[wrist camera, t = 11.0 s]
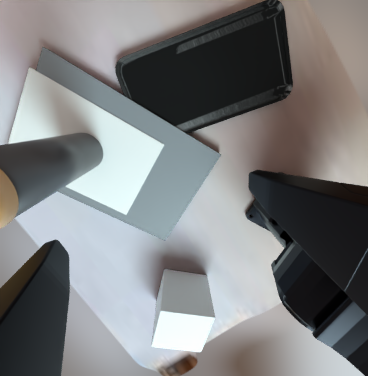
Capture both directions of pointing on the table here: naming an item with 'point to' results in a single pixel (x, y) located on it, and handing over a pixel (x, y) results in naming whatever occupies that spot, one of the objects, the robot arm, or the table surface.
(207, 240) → the table surface
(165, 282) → the white cube
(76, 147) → the grey cylinder
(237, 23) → the phone
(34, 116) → the writing board
